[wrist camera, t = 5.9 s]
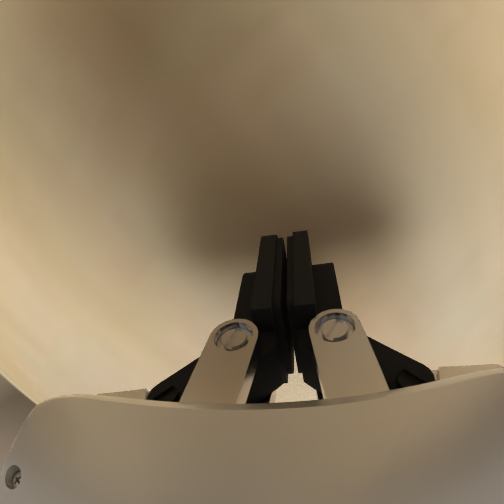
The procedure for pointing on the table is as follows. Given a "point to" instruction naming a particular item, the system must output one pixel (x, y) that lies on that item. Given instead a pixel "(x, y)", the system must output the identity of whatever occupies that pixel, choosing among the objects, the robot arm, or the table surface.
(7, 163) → the table surface
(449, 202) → the table surface
